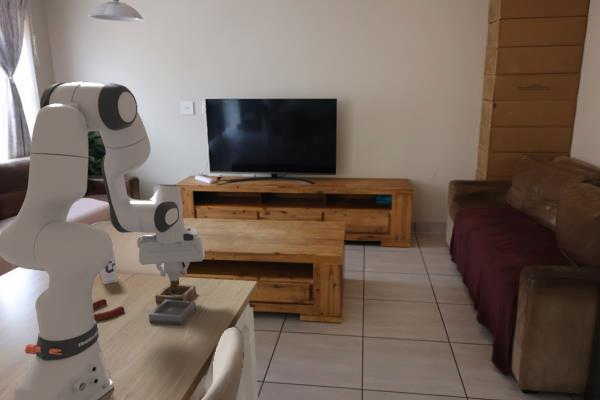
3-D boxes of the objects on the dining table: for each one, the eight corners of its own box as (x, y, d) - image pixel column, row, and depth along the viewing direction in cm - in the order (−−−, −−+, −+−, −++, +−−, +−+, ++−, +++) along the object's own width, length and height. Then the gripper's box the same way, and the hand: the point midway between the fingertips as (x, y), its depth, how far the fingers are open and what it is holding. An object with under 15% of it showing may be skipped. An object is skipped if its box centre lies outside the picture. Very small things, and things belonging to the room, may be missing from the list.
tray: (180, 325, 132) (180, 317, 131) (149, 321, 134) (148, 314, 133) (195, 309, 141) (195, 301, 141) (166, 306, 143) (165, 299, 143)
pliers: (40, 331, 131) (39, 322, 130) (104, 304, 147) (103, 296, 147) (62, 342, 125) (60, 334, 124) (126, 313, 141) (125, 305, 140)
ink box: (99, 277, 168) (95, 246, 165) (113, 274, 171) (109, 244, 168) (103, 285, 161) (99, 253, 158) (118, 281, 164) (114, 250, 161)
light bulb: (178, 291, 145) (175, 261, 143) (162, 289, 147) (159, 260, 144) (187, 284, 151) (185, 255, 148) (172, 282, 152) (169, 254, 150)
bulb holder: (182, 305, 144) (182, 298, 144) (155, 302, 146) (155, 295, 146) (195, 292, 153) (195, 285, 152) (170, 290, 155) (169, 283, 155)
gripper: (134, 238, 140) (138, 280, 143) (202, 235, 143) (204, 276, 146) (138, 232, 146) (142, 273, 149) (203, 229, 149) (206, 269, 152)
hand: (173, 275), depth 148 cm, fingers closed on light bulb, 5 cm apart
